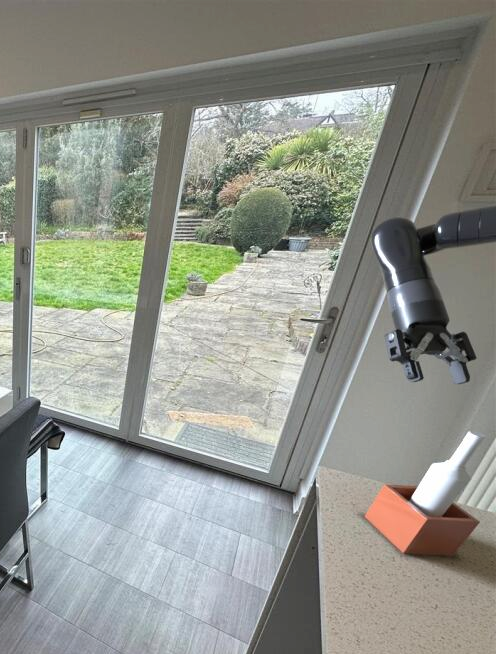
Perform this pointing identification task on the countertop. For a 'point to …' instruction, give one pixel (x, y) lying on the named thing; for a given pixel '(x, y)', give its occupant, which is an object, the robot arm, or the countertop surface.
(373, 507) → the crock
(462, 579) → the countertop surface
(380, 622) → the countertop surface
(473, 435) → the bottle
